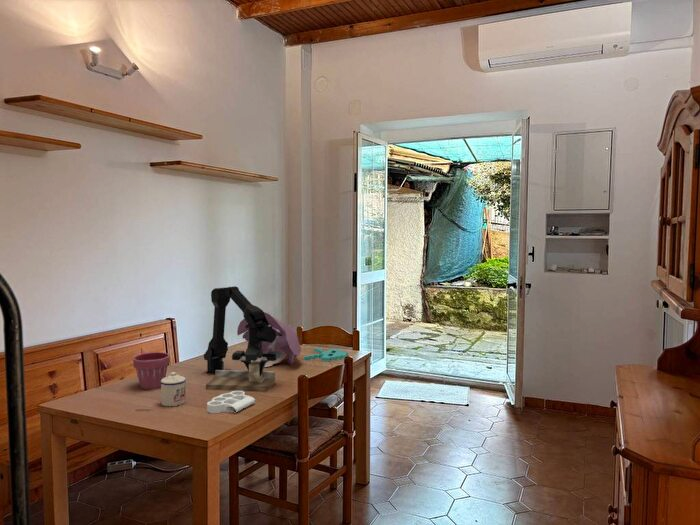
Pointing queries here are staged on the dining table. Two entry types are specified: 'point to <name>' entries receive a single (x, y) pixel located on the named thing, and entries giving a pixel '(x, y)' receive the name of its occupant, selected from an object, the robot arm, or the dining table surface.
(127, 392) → the dining table surface
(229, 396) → the white muffin tray
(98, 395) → the dining table surface
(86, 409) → the dining table surface
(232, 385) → the walnut board
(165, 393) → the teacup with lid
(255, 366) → the block
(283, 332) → the mauve curved piece
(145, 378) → the plant pot
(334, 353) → the alien figure
